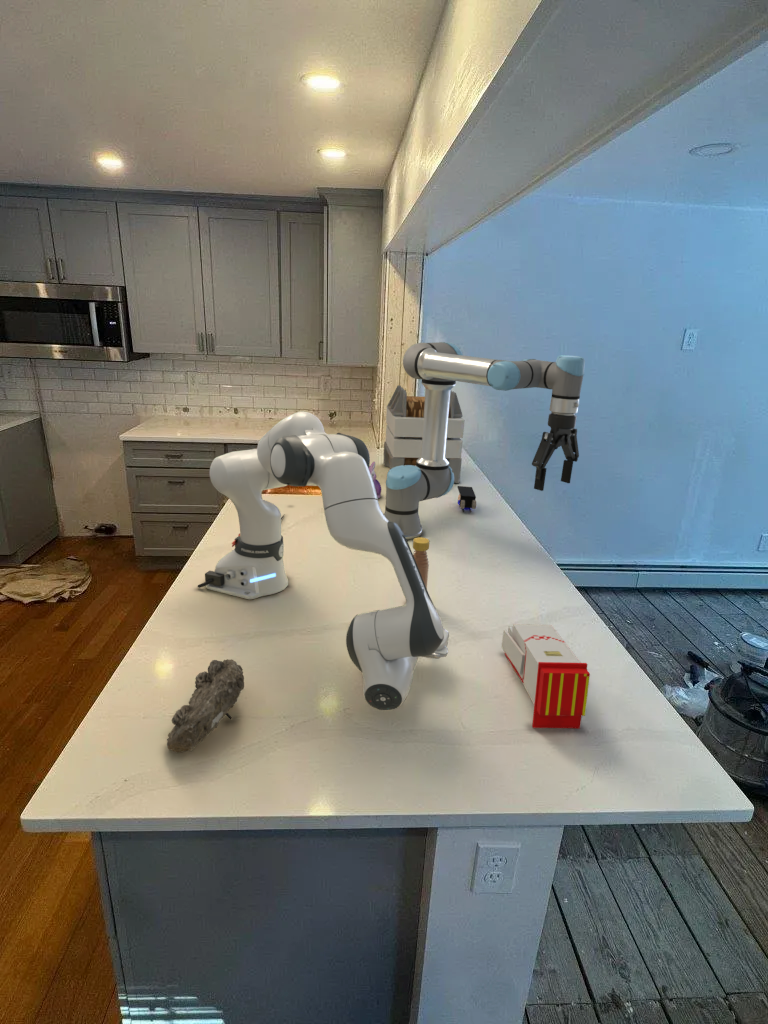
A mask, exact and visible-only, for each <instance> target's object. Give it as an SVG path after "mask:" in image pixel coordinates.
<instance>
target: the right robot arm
mask: <svg viewBox="0 0 768 1024" xmlns="http://www.w3.org/2000/svg"><path fill="white" fill-rule="evenodd" d="M585 365H586V360H585V358H584V357H582V356H578V355H566V354H565V355H564V354H563V355H558V356H557V357H556V360H555V361H549V360H541V359H536V358H524V359H521V360H506V359H505V360H504V359H503V360H502V359H496V358H487V357H479V356H471V355H464V354H463V352H462V350H461V349H460V347H459V346H457V345H456V344H455V343H451V342H445V341H443V342H442V341H441V342H440V341H439V342H438V341H437V342H417V343H414V344H412V345H411V346H409V347H408V348H407V350H406V351H405V353H404V355H403V358H402V366H403V369H404V372H405V373H406V374H407V375H408V376H409V377H411V378H412V379H415V380H421V385H422V386H423V387H424V389H425V392H424V397H425V404H424V419H423V434H422V449H421V457H420V458H418V459H417V461H416V466H413V465H401V466H396V467H394V468H392V469H390V468H389V470H388V472H387V474H386V479H385V504H384V505H385V507H384V508H385V509H384V512H383V514H384V516H385V517H386V518H387V519H388V520H389V521H390V522H394V523H396V524H397V525H398V526H399V527H400V529H401V530H402V532H403V534H404V535H405V537H406V540H407V541H410V540H414V538H417V537H422V535H423V525H422V524H421V518H420V515H419V507H420V506H419V505H420V502H423V501H427V500H431V499H437V498H440V497H443V496H446V495H448V493H450V492H451V490H452V489H453V488H454V487H453V486H454V484H455V483H454V473H452V469H451V467H450V466H449V462H448V461H447V459H446V458H445V453H446V441H447V428H448V416H449V404H450V392H451V391H452V389H453V388H454V387H455V386H456V384H457V382H461V383H465V384H473V385H479V386H487V387H491V388H492V389H494V390H496V391H503V392H504V391H511V390H520V389H532V388H533V389H534V388H539V389H546V390H551V398H550V404H549V413H548V418H547V419H548V420H547V426H548V427H549V428H550V431H549V432H548V431H543V432H542V435H541V440H540V442H539V445H538V447H537V449H536V452H535V454H534V457H533V460H532V461H531V466H533V467H535V475H534V477H535V478H534V485H533V489H534V490H537V491H539V492H543V491H544V489H545V484H546V483H545V482H546V476H547V468H546V466H547V465H548V463H549V461H550V459H551V457H552V456H553V454H554V453H555V451H556V450H557V449H558V448H560V447H561V449H562V452H563V455H564V458H565V459H563V463H562V468H561V469H562V470H561V475H560V482H562V483H566V484H571V478H572V472H573V466H574V463H576V462H578V461H579V457H580V453H579V444H578V428H576V423H577V419H578V416H577V414H578V412H579V411H578V410H579V406H580V397H581V391H582V385H583V380H584V376H585Z"/></svg>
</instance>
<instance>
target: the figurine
mask: <svg viewBox="0 0 768 1024" xmlns="http://www.w3.org/2000/svg"><path fill="white" fill-rule="evenodd" d="M375 468H376V461H372V463H370V465H369V471H370V474H371V476H372V479H373V482H374V486H375V489H376V493H377V497H378V499H380V498H381V497H382V496H381V495H382V486H381V483H380V481H379V480H378V479H377V474H376V471H375Z"/></svg>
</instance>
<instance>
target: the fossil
mask: <svg viewBox="0 0 768 1024" xmlns="http://www.w3.org/2000/svg"><path fill="white" fill-rule="evenodd" d="M243 670H244V669H243V667H242V665H240V664H237V662H236V661H235V660H234V659H232V658H231V659H227V658H226V659H224V660H223V661H222V660H217V659H212V660H211V661H210V663H209V665H208V666H207V671H201V672H199V673H198V674H197V675H196V676H195V680H194V684H195V685H194V687H195V689H194V690H193V693H192V694H191V697H190V698H189V700H188V704H184V705H182V706H181V707H180V709H177V710H176V711H175V713H174V715H173V716H172V718H171V723H172V724H173V727H172V730H171V731H170V732H168V734H167V738H166V741H167V742H166V745H167V749H168V750H169V751H173V752H174V753H176V754H178V753H182V752H188V751H189V752H192V751H193V750H195V748H196V747H197V746H199V744H200V743H201V742H203V741H204V740H205V739H206V738H207V737H208V736H209V735H210V734H211V733H212V732H214V730H215V729H217V727H218V726H219V724H220V722H221V721H222V720H223V719H224V718H225V716H226V717H227V719H229V720H233V717H232V715H230V714H229V710H230V709H231V708H234V706H235V704H236V703H237V702H238V699H239V697H240V695H241V693H242V691H243V690H245V689H244V688H245V675H244V671H243Z"/></svg>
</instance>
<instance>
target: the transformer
mask: <svg viewBox="0 0 768 1024" xmlns="http://www.w3.org/2000/svg"><path fill="white" fill-rule="evenodd" d="M407 394H408V393H407V390H406V389H404V388H403V387H402V385H399V384H398V385H397V386H396V388H395V390H394V392H393V394H392V395H391V398H390V400H389V402H388V404H387V405H386V413H385V414H386V415H385V423H386V428H385V438H384V442H383V466H384V467H388V468H389V470H390V469H392V468H394V467H396V466H401V465H404V466H405V465H413V466H416V461H417V459H418V458H420V457H421V449H422V434H423V419H424V404H425V396H415V395H414V396H413V395H412V396H411V395H407ZM464 429H465V419H464V418H463V411H462V408H461V405H460V402H459V398H458V395H457V392H455V391H453V390H451V392H450V404H449V416H448V428H447V441H446V453H445V458H446V459H447V461H448V462H449V466H450V467H451V469H452V473H454V484H455V483H456V484H459V483H461V472H462V461H463V460H462V453H463V442H464V441H463V440H462V439H463V438H464V431H465V430H464Z"/></svg>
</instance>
